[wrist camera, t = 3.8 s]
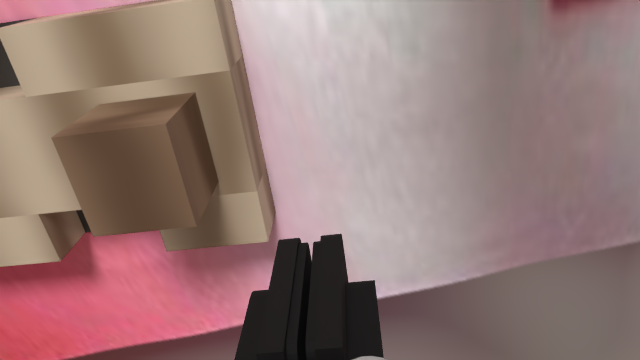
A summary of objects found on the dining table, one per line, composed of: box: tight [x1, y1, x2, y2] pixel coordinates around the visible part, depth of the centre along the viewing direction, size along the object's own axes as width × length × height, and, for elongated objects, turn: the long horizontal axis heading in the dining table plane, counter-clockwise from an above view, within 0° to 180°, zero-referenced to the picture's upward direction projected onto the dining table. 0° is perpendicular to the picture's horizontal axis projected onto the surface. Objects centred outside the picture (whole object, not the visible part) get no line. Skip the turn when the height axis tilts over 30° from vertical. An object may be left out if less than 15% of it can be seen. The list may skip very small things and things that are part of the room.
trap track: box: [0, 0, 275, 267], centre depth 23 cm, size 23×12×6 cm, turn 98°
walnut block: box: [51, 92, 219, 237], centre depth 20 cm, size 4×4×4 cm
